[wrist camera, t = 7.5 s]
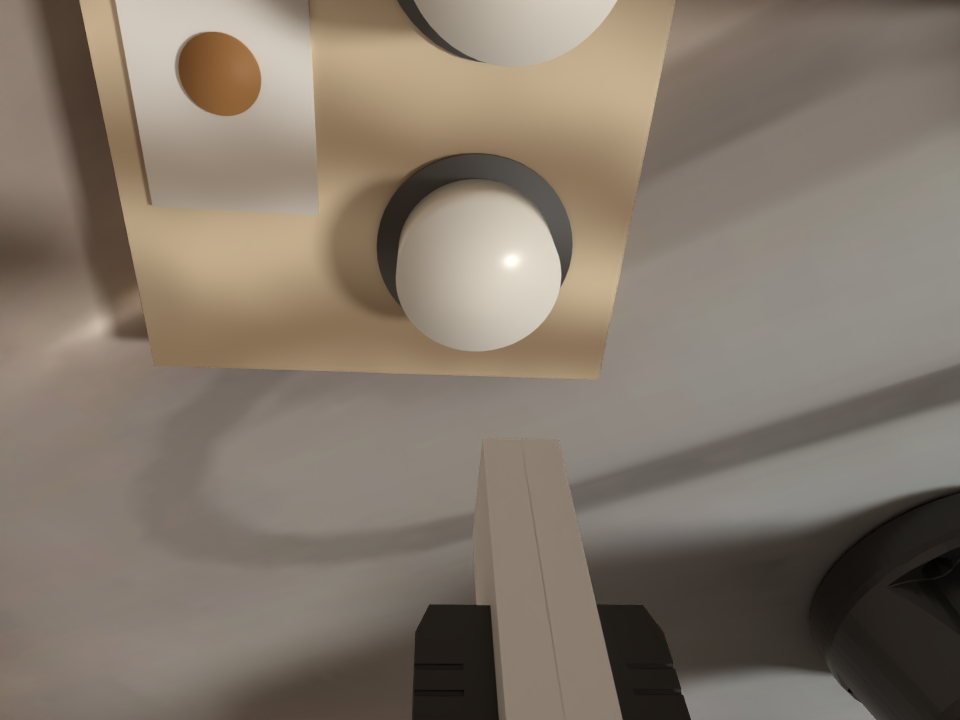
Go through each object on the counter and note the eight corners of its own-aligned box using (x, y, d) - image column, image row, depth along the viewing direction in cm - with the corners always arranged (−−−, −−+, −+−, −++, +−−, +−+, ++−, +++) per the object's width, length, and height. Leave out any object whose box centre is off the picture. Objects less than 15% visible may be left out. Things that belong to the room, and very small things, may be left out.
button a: (541, 323, 25) (549, 354, 23) (397, 317, 24) (394, 348, 22) (562, 183, 22) (573, 206, 20) (399, 173, 21) (396, 197, 20)
